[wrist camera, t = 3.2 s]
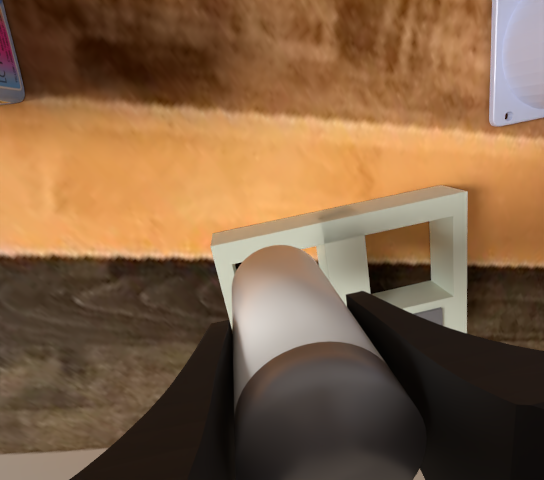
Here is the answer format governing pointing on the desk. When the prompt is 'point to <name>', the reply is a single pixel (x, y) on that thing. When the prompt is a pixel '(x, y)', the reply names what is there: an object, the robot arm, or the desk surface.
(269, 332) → the salt shaker
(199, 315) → the desk surface
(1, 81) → the ink cartridge box
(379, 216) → the socket block
